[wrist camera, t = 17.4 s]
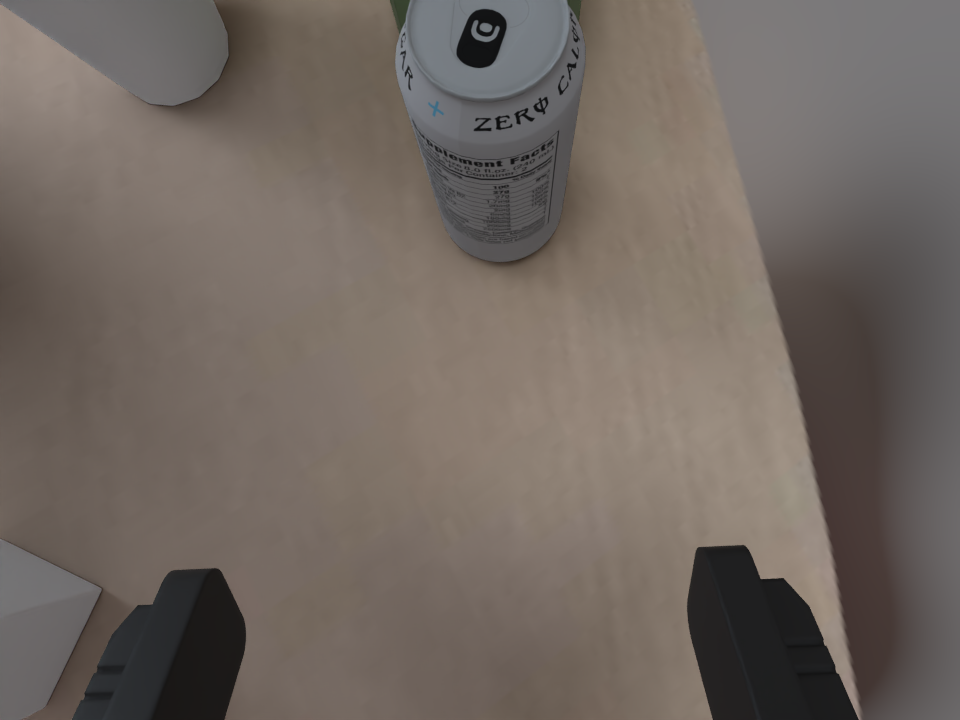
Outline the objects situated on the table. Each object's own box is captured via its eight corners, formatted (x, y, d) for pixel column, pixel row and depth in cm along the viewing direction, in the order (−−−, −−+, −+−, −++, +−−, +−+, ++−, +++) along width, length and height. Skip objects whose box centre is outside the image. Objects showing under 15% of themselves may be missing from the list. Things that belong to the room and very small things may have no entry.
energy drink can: (577, 173, 35) (618, -42, 20) (539, 283, 34) (553, 143, 19) (465, 139, 36) (425, -93, 21) (425, 247, 35) (355, 85, 20)
